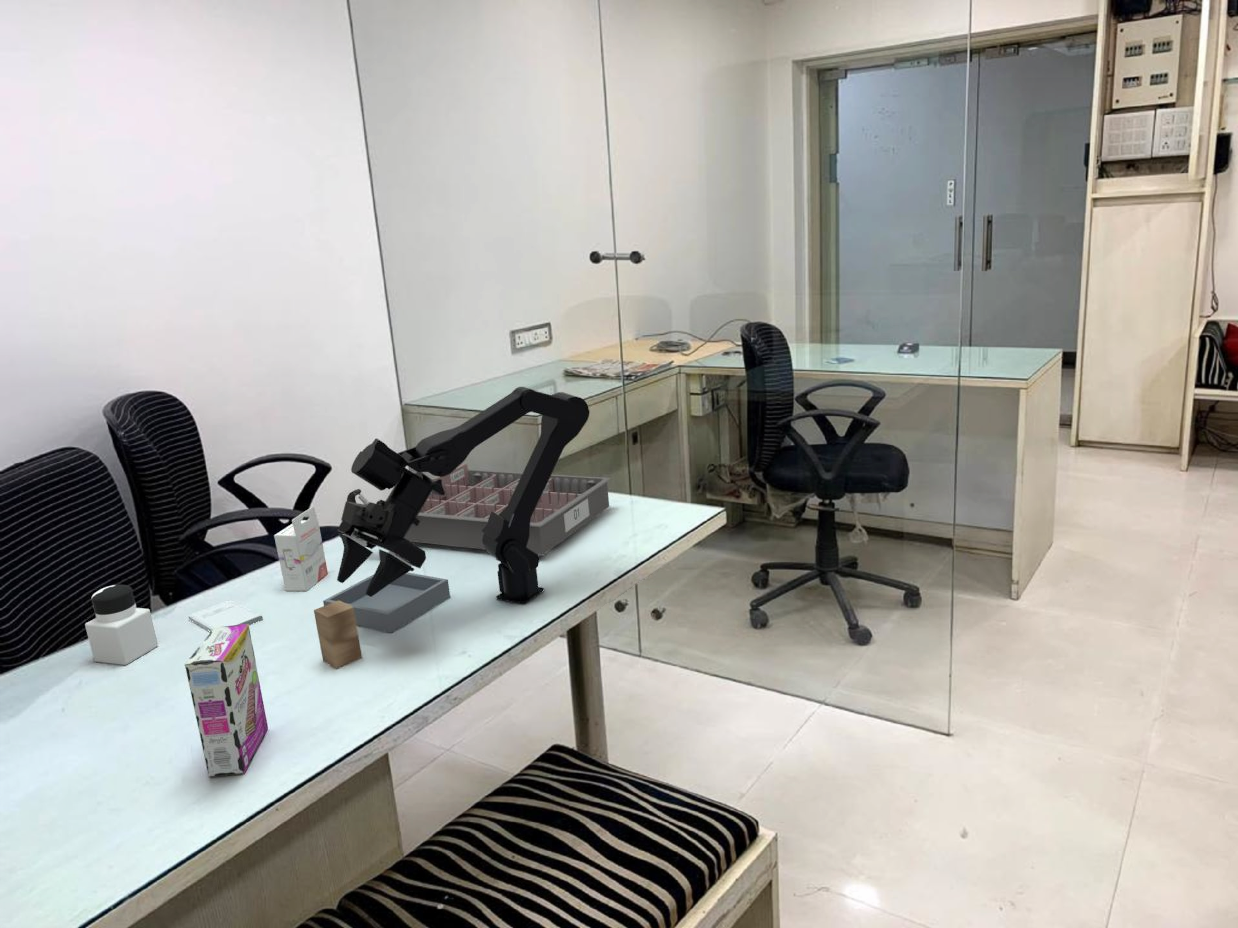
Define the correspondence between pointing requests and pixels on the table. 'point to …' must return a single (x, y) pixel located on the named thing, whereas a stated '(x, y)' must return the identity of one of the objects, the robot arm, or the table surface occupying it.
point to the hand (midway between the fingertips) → (353, 588)
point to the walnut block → (338, 634)
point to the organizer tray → (491, 491)
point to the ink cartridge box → (301, 552)
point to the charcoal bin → (393, 600)
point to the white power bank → (225, 616)
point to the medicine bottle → (119, 627)
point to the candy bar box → (227, 699)
